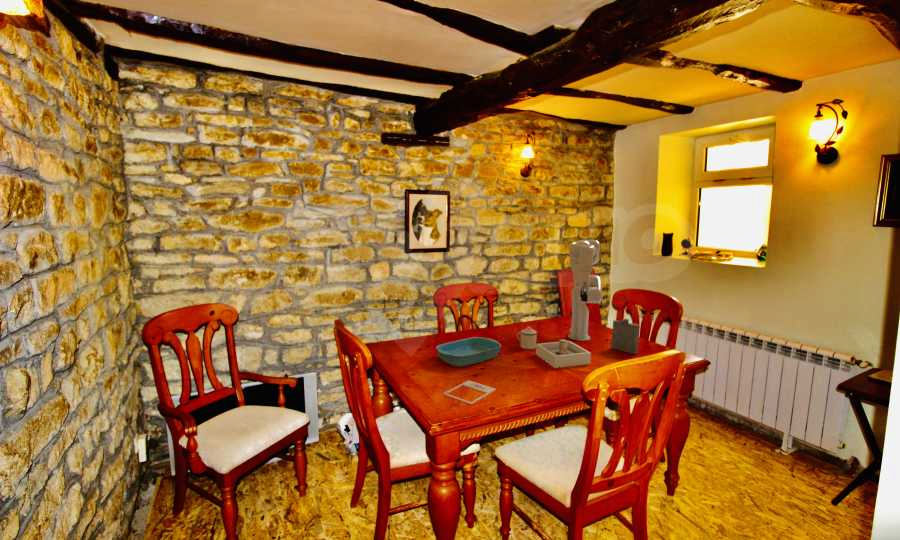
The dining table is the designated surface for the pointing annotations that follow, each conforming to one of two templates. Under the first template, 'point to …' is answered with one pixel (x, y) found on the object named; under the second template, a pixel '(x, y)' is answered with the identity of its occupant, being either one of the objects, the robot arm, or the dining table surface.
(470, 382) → the photo frame
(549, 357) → the open top box
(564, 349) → the peg
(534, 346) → the teacup with lid
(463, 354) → the casserole dish
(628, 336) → the flask
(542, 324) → the dining table surface
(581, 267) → the robot arm
